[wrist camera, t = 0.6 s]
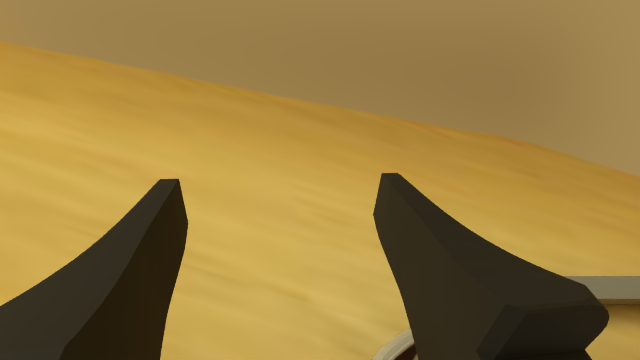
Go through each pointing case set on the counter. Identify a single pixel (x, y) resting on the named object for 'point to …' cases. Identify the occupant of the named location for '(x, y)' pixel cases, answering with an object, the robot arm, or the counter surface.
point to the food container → (398, 348)
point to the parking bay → (612, 288)
